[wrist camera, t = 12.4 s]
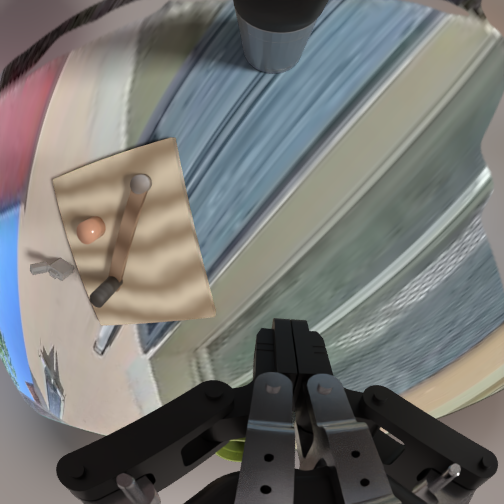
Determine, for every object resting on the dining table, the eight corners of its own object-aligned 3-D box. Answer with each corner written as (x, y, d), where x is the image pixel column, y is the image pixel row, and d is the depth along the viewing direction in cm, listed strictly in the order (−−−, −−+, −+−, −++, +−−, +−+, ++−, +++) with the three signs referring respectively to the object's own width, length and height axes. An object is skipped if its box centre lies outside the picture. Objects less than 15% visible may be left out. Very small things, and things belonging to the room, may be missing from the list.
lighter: (74, 266, 51) (52, 282, 44) (72, 272, 52) (52, 289, 44) (50, 251, 50) (28, 265, 43) (50, 257, 51) (28, 272, 43)
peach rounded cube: (85, 218, 45) (73, 224, 42) (102, 213, 45) (90, 219, 41) (91, 239, 47) (80, 246, 43) (108, 235, 46) (97, 242, 43)
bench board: (58, 178, 45) (52, 179, 43) (175, 137, 42) (171, 137, 40) (105, 320, 55) (101, 325, 54) (216, 311, 53) (214, 316, 51)
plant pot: (268, 426, 66) (268, 460, 55) (226, 430, 67) (222, 463, 57) (258, 401, 62) (257, 438, 52) (212, 406, 64) (205, 441, 53)
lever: (138, 171, 42) (115, 176, 34) (154, 177, 42) (133, 184, 34) (108, 282, 49) (88, 303, 41) (121, 289, 49) (102, 311, 42)
